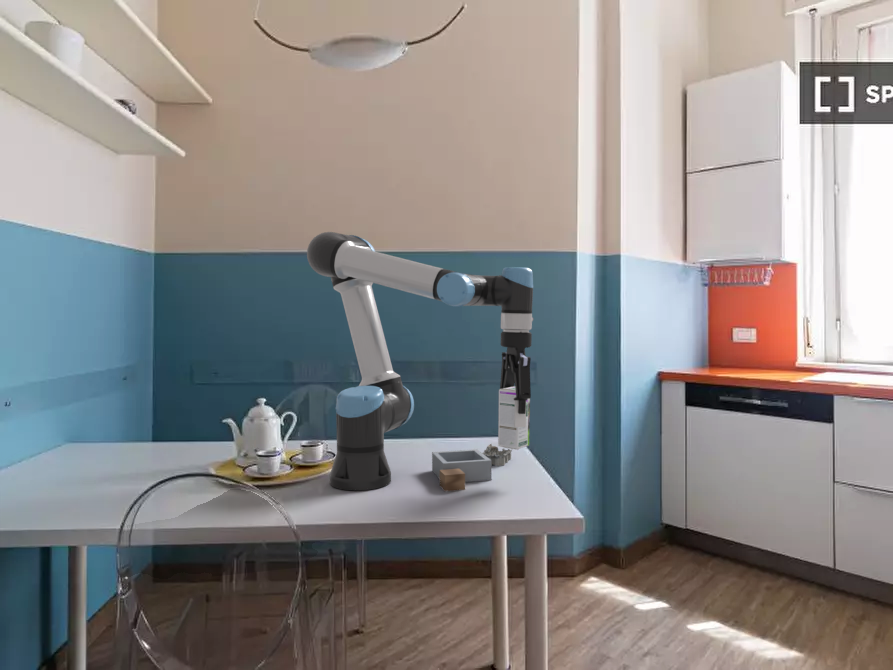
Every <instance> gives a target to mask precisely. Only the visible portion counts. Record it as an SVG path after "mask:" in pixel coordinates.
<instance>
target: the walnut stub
mask: <svg viewBox="0 0 893 670" xmlns="http://www.w3.org/2000/svg"><path fill="white" fill-rule="evenodd" d="M439 487H441V489H442V490H443V491H444V492H452V491H462V490H463V491H465V490H466V482H465V473H464V472H463V471H461V470H460V469H446V470H440V479H439Z"/></svg>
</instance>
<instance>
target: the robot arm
mask: <svg viewBox="0 0 893 670" xmlns="http://www.w3.org/2000/svg"><path fill="white" fill-rule="evenodd" d="M306 257H307V262H308V264H309V266H310V267H311V269H312V270H313V271H314V272H315V273H316V274H318V275H321V276H322V277H323V276H324V277H328V278H330V280H331V283H332V288H333V290H334V291H336V292H337V293H340V297H341V301H342V304H343V308H344V311H345V316H346V320H347V324H348V329H349V332H350V336H351V340H352V343H353V347H354V351H355V355H356V359H357V364H358V367H359V372H360V375H361V381H360V382H359V385H357V386H355V387H354V386H352V387H348V388H345V389H343V390H341V391H340V392H339V393H338V394H337V396H336V402H335V412H336V413H335V415H336V420H335V421H336V454H335V458H334V460H333V464H332V467H331V470H330V474H329V485H330V486H332V487H333V488H335V489H339V490H344V491H369V490H374V489H380V488H383V487H386V486H389V484H391V482H392V472H391V467H390V466H389V462H388V460H387V459H388V458H387V456H386V453H385V441H384V440H385V435H384V434H385V433H387V432H390V431H392V430H397V429H398V428H400V427H402V426H403V425H405V424H406V423H407V422H408V421H409V420H410V419H411V417H412V416H413V413H414V409H415V400H414V396H413V394H412V392H411V391H410V390H409V389H408V388H407V387H406V386H405V385H403V381H402V378H401V374H398V373H397V372H395V371H394V369H393V365H392V362H391V361H392V360H391V357H390V354H389V353H390V352H389V350H388V346H387V341H386V338H385V333H384V330H383V326H382V325H383V324H382V322H381V318H380V314H379V311H378V307H377V302H376V300H375V299H376V298H375V295H374V289H373V287H372V286H373V284H376V285H381V286H383V287H388V288H391V289H395V290H399V291H403V292H405V293H410V294H414V295H417V296H420V297H425V298H428V299H431V300H432V299H433V300H436V301H440V302H442V303H444V304H445V305H447V306H451V307H458V308H459V307H473V306H474V307H475V306H476V307H477V306H479V307H480V306H481V307H483V306H485V307H486V306H487V307H490V306H491V307H501V312H500V313H501V314H500V329H501V330H502V331H501V333H500V346H501V347H502V348H506V351H505V352H501V369H500V371H501V372H500V382H499V383H500V384H499V389H503V388H508V387H515V389H516V397H515V398H514V400H515V410H514V427H526V400H528V399H530V400H531V398H532V397H531V396H532V393H531V392H532V391H531V369H530V368H531V360H532V359H531V356H526V348H531V347H532V336H533V334H532V332H530V331H531V330H532V329H533V325H532V324H533V321H534V317H533V299H534V298H533V297H534V276H533V274H534V273H533V270H532V269H531V268H529V267H524V266H523V267H521V266H520V267H519V266H518V267H517V266H516V267H515V266H510V267H509V266H508V267H507V266H506V267H503V269H502V273H501V275H478V274H470V273H463V272H458V271H455V270H451V269H446V268H442V267H438V266H434V265H430V264H426V263H421V262H417V261H415V260H414V261H413V260H411V259H405V258H402V257H398V256H395V255H394V256H393V255H392V254H391V255H390V254H386V253H383V252H379V251H378V252H377V251H376V249H375V247H374V246H373V245H372V243H370V242H369V241H368V240H367V239H364V238H362V237H360V236H357V235H353V234H343V233H338V232H332V231H327V232H321V233H319V234H317V235H316V236H314V237H313V238H312V239H311V241H310V242H309V244H308V247H307V250H306Z"/></svg>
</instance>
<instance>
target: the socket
mask: <svg viewBox="0 0 893 670" xmlns="http://www.w3.org/2000/svg"><path fill="white" fill-rule="evenodd" d="M431 458H432V459H431V461H432V462H431V464H432V465H431V468H432V469H431V471H432V472H433V473H434V474H435V475H436V476H437V478H438V479H439V480H440V470H446V469H460V470H461V471H463V472H464V473H465V483H467V482H479V481H480V482H481V481H482V482H483V481H492V465H491V460H490V459H489V458H488V457H486V456H485V455H484V454H483V452H481V451H480V450H478V448H477V449H475V448H474V449H463V450H461V449H460V450H447V451H446V450H444V451H432V452H431Z"/></svg>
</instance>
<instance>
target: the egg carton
mask: <svg viewBox="0 0 893 670" xmlns="http://www.w3.org/2000/svg"><path fill="white" fill-rule="evenodd" d="M498 447H499V446H496V445H492V443H489V444H488V445H487V446H486V449H484V450H483V452H482V453H483V454H484V455H485V456H486V457H488V458H489V459H490V460H491V466H492V465H493V466H494V467H500V466H505V465H506V463H507V464H508V463H509V461H511V460H512V452H513V450H514V449H509V448H507V449H506V448H504V447H502V450H499V448H498Z"/></svg>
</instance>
